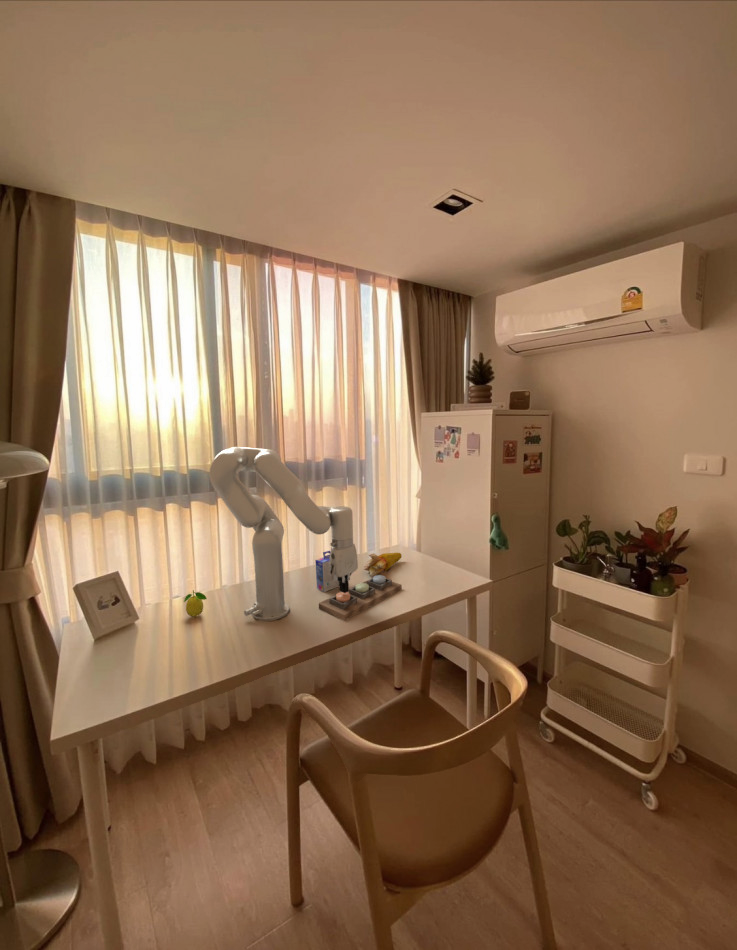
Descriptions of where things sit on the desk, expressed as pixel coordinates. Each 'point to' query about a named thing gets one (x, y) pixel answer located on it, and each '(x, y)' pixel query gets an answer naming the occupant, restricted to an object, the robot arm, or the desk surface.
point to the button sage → (362, 588)
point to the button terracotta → (342, 597)
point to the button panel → (360, 599)
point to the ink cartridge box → (324, 574)
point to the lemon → (194, 603)
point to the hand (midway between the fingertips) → (344, 591)
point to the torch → (381, 562)
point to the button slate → (379, 579)
